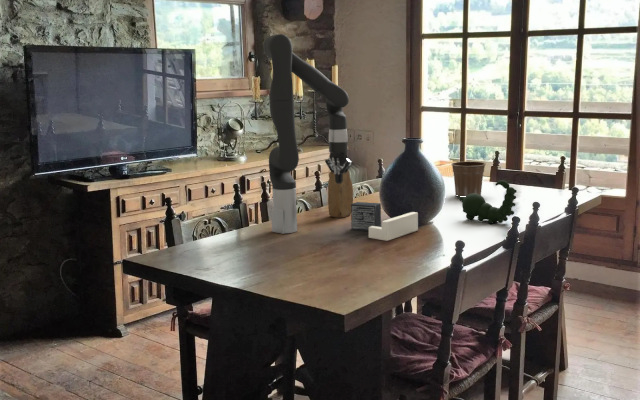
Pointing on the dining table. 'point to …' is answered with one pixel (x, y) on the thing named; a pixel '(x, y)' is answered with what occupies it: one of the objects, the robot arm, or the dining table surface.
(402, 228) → the board
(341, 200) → the block
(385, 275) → the dining table surface
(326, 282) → the dining table surface
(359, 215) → the small box
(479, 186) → the plant pot
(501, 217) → the toy figurine
